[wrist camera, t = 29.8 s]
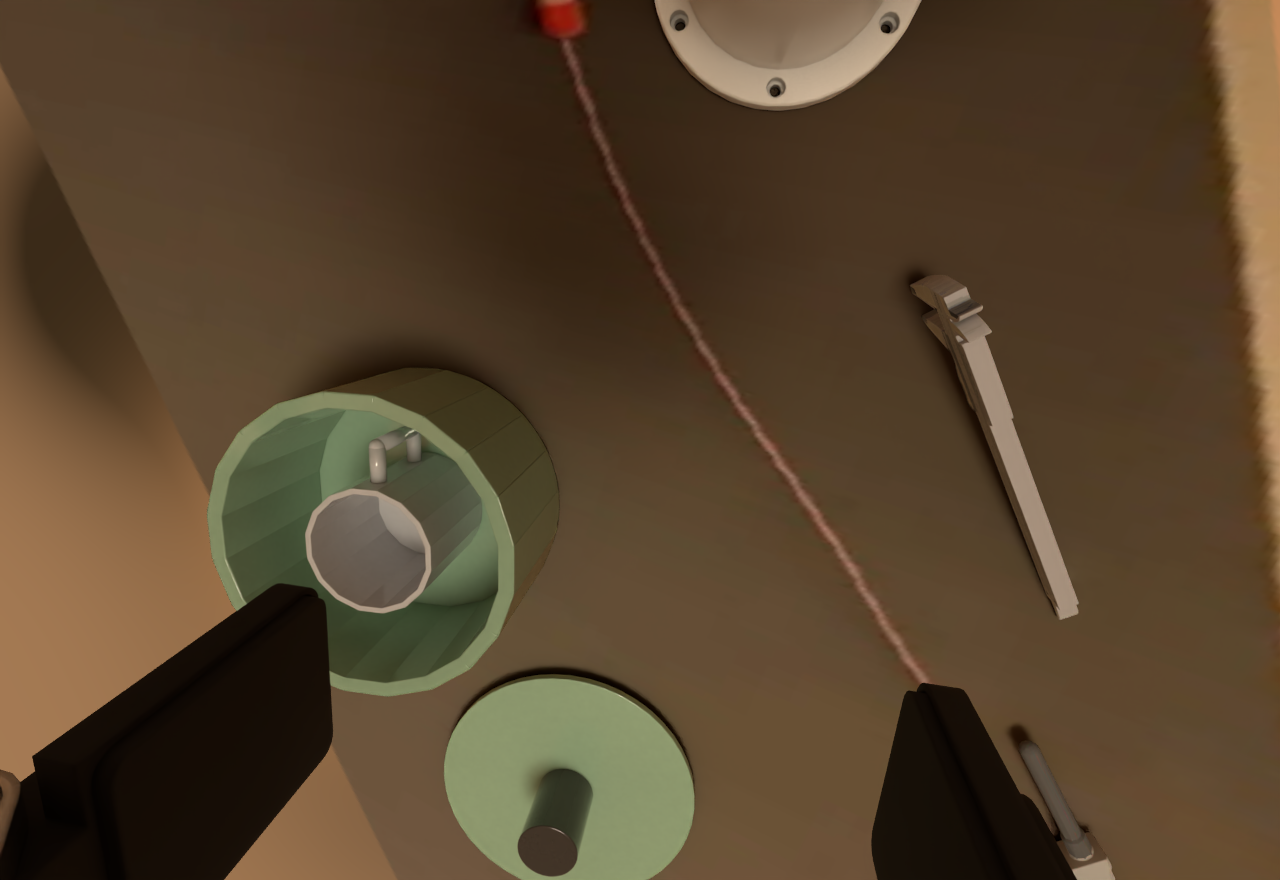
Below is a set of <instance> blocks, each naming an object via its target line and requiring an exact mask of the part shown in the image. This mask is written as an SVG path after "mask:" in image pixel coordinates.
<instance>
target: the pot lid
mask: <svg viewBox="0 0 1280 880" xmlns="http://www.w3.org/2000/svg"><path fill="white" fill-rule="evenodd" d="M444 778H445V787H446V792H447V796H448V800H449V803H450V805H451V808H452V810H453V813H454V815H455V817H456V819H457V820H458V822H459V824H460V826H461V828H462V829H463V830H464V832H465V833H466V835H467V836H468V837H469V839H470V840H471V841H472V842H473V843H474V844H475V846H476V847H477V848H478V849H479V850H480V851H481V852H482V853H483V854H484V855H486V856H487V857H488V858H489V859H490V860H491V861H493V862H494V863H495V864H497V865H498V866H499V867H501V868H502V869H504V870H505V871H507V872H509V873H510V874H512V875H514V876H516V877H517V878H519V879H522V880H648V879H650V878H652V877H653V876H655V875H656V874H657V873H659V872H660V871H662V870H663V869H664V868H665V867H666V866H667V865H668V864H669V863H670V862H671V861H672V860H673V859H674V858H675V856H676V855H677V854H678V852H679V851H680V850H681V848H682V846H683V844H684V843H685V841H686V839H687V837H688V834H689V831H690V828H691V825H692V821H693V815H694V808H695V789H694V782H693V776H692V773H691V769H690V766H689V763H688V760H687V758H686V756H685V754H684V752H683V750H682V747H681V746H680V744H679V743H678V741H677V740H676V738H675V736H674V735H673V733H672V732H671V731H670V730H669V729H668V727H667V726H666V725H665V724H664V723H663V721H662V720H660V719H659V718H658V717H657V716H656V715H655V714H654V713H653V712H652V711H651V710H650V709H649V708H647V707H646V706H644V705H643V704H642V703H640V702H639V701H638V700H636V699H635V698H633V697H631V696H630V695H628V694H626V693H624V692H623V691H621V690H619V689H616V688H614V687H612V686H609V685H607V684H605V683H601V682H598V681H595V680H592V679H588V678H583V677H578V676H572V675H560V674H546V675H535V676H529V677H523V678H519V679H516V680H513V681H510V682H507V683H505V684H503V685H500V686H498V687H496V688H494V689H492V690H491V691H489V692H488V693H486V694H485V695H483V696H482V697H480V698H479V699H478V700H477V701H476V702H475V703H474V704H473V705H471V706H470V707H469V709H468V710H467V711H466V712H465V714H464V715H463V716H462V717H461V719H460V721H459V722H458V724H457V726H456V727H455V729H454V731H453V733H452V735H451V738H450V740H449V743H448V746H447V750H446V755H445V763H444Z"/></svg>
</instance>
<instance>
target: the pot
mask: <svg viewBox="0 0 1280 880" xmlns="http://www.w3.org/2000/svg"><path fill="white" fill-rule="evenodd" d="M401 426H406V427H409V428H411V429H414V430H416V431H418V432H419V433H420V434H421V449H422V452H429V453H435V454H439V455H442V456H444V457H447V458H449V459H451V460H452V461H454V462H456V463H457V465H458V466H459V467H460V469H461V470H462V472H463V473H464V475H465V476H466V477H467V479H468V480H469V482H470V483H471V485H472V486H473V487H474V489H475V490H476V492H477V493H478V495H479V496H480V497H481V502H482V519H481V524H480V527H479V530H478V532H477V534H476V536H475V537H474V538H473V540H472V542H471V543H470V544H469V545H468V546H467V547H466V548H465V549H464V550H463V551H462V552H461V553H460V554H459V555H458V556H457V557H456V558H455V560H454V561H453V562H452V563H451V564H450V565H449V566H448V567H447V568H446V569H445V570H444V571H443V572H442V573H441V574H440V575H439V576H438V577H437V578H436V579H435V580H434V581H433V582H432V583H431V584H430V585H429V586H428V587H427V588H426V589H425V591H424V592H423V593H422V594H420V595H419V596H418V597H417V598H416V599H415V600H413V601H412V602H411V603H410V604H409V605H408V606H406V607H405V608H401V609H398V610H394V611H390V612H387V613H375V612H367V611H359V610H357V609H355V608H353V607H351V606H349V605H347V604H345V603H343V602H341V601H339V600H337V599H336V598H335V597H334V596H333V595H332V594H331V593H330V592H329V591H328V590H327V589H326V588H325V587H324V586H323V585H322V584H321V583H320V582H319V581H318V580H317V577H316V575H315V573H314V571H313V569H312V567H311V565H310V563H309V561H308V559H307V551H306V539H305V532H306V529H307V527H308V524H309V521H310V518H311V515H312V512H313V511H314V510H315V509H316V508H317V507H318V506H319V505H320V504H321V503H322V502H323V501H324V500H325V499H326V498H327V497H328V496H330V495H331V494H333V493H335V492H337V491H339V490H340V489H342V488H344V487H346V486H348V485H349V484H351V483H353V482H355V481H357V480H359V479H360V478H362V477H364V476H366V475H368V474H369V473H370V464H369V443H370V442H371V441H372V440H373V439H375V438H377V437H380V436H382V435H384V434H386V433H388V432H390V431H393V430H395V429H397V428H399V427H401ZM405 455H407V452H406V441H405V442H403V443H401V444H399V445H397V446H395V447H393V448H391V449H389V450H387V451H386V460H387V464H388V463H389V462H391V461H393V460H395V459H398V458H401V457H403V456H405ZM558 518H559V491H558V485H557V480H556V475H555V472H554V468H553V465H552V462H551V459H550V457H549V455H548V452H547V450H546V448H545V446H544V444H543V442H542V440H541V439H540V437H539V436H538V434H537V432H536V431H535V429H534V428H533V426H532V425H531V424H530V423H529V421H528V420H527V419H526V418H525V416H524V415H523V414H522V413H521V412H520V411H519V410H518V409H517V408H516V407H515V406H514V405H513V404H512V403H511V402H510V401H508V400H507V399H506V398H504V397H503V396H502V395H500V394H499V393H498V392H496V391H495V390H493V389H491V388H490V387H488V386H486V385H485V384H483V383H481V382H479V381H477V380H475V379H472V378H470V377H467V376H465V375H462V374H459V373H455V372H452V371H448V370H442V369H435V368H402V369H398V370H394V371H390V372H387V373H383V374H379V375H375V376H372V377H368V378H365V379H361V380H357V381H354V382H350V383H347V384H343V385H340V386H336V387H333V388H329V389H326V390H322V391H319V392H315V393H311V394H308V395H304V396H301V397H297V398H294V399H290V400H287V401H283V402H280V403H277V404H275V405H274V406H272V407H271V408H270V409H268V410H267V411H266V412H264V413H263V414H261V415H260V416H259V417H257V418H256V419H255V420H253V421H252V422H251V423H249V424H248V425H246V426H245V427H244V428H242V429H241V430H240V431H239V432H238V434H237V435H236V437H235V439H234V440H233V442H232V443H231V445H230V447H229V448H228V450H227V451H226V453H225V455H224V456H223V458H222V459H221V461H220V463H219V464H218V466H217V467H216V470H215V474H214V479H213V484H212V489H211V494H210V499H209V504H208V509H207V520H208V529H209V537H210V545H211V554H212V559H213V562H214V564H215V567H216V569H217V571H218V574H219V576H220V578H221V581H222V583H223V585H224V588H225V590H226V592H227V595H228V597H229V599H230V602H231V603H232V606H233V607H234V608H235V609H236V611H237V610H239V609H240V608H242V607H243V606H244V605H246V604H247V603H249V602H250V601H251V600H253V599H254V598H256V597H257V596H258V595H260V594H261V593H263V592H264V591H265V590H267V589H268V588H270V587H271V586H273V585H275V584H277V583H284V584H291V585H297V586H304V587H310V588H313V589H315V590H316V592H317V594H318V597H319V598H321V599H323V600H324V602H325V604H326V612H327V631H328V649H329V668H330V685H331V686H334V687H336V688H338V689H341V690H344V691H350V692H358V693H365V694H372V695H379V696H387V697H388V696H395V695H402V694H408V693H414V692H420V691H426V690H431V689H434V688H436V687H438V686H440V685H442V684H444V683H445V682H447V681H449V680H451V679H453V678H455V677H457V676H458V675H460V674H462V673H464V672H466V671H468V670H469V669H470V668H472V667H473V665H474V664H475V663H476V662H477V661H478V660H479V659H480V657H481V656H482V655H483V654H484V653H485V652H486V650H487V649H488V648H489V647H490V646H491V645H492V644H493V642H494V641H495V640H496V639H497V638H498V636H499V635H500V633H501V632H502V630H503V629H504V627H505V626H506V624H507V622H508V621H509V619H510V618H511V616H512V615H513V613H514V611H515V610H516V608H517V607H518V605H519V604H520V602H521V601H522V599H523V597H524V596H525V594H526V593H527V591H528V590H529V588H530V586H531V585H532V583H533V582H534V580H535V579H536V577H537V575H538V574H539V572H540V571H541V569H542V568H543V566H544V564H545V561H546V558H547V556H548V554H549V552H550V549H551V547H552V544H553V542H554V539H555V535H556V531H557V526H558Z"/></svg>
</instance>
